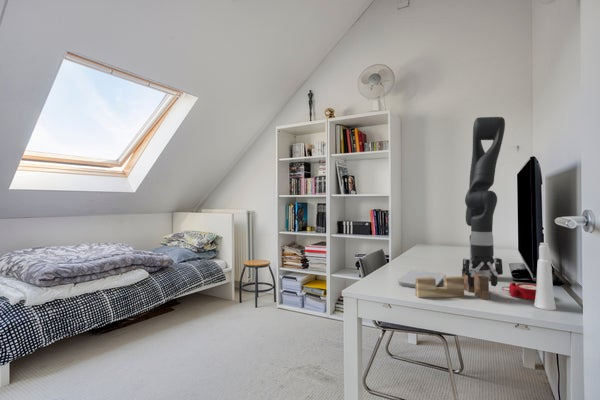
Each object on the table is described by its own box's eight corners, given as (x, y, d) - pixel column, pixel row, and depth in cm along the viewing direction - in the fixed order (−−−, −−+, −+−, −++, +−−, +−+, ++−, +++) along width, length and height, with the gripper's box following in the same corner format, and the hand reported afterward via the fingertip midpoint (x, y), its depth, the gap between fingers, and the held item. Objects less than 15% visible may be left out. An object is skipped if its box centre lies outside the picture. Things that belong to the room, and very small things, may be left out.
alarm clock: (553, 293, 114) (504, 279, 122) (549, 310, 115) (500, 294, 122) (550, 286, 123) (504, 273, 130) (545, 301, 123) (500, 287, 131)
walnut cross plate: (462, 288, 134) (461, 269, 134) (468, 288, 134) (467, 269, 134) (482, 299, 120) (482, 277, 120) (488, 298, 120) (488, 277, 120)
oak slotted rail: (415, 295, 126) (415, 277, 126) (460, 294, 126) (460, 276, 126) (418, 297, 123) (417, 279, 123) (464, 296, 124) (464, 278, 124)
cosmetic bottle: (540, 309, 108) (539, 244, 107) (530, 304, 113) (529, 241, 113) (560, 310, 107) (559, 244, 106) (549, 304, 113) (548, 241, 112)
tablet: (446, 278, 153) (446, 273, 153) (435, 292, 131) (435, 286, 131) (411, 274, 162) (411, 269, 162) (395, 286, 140) (395, 281, 140)
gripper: (469, 245, 118) (470, 289, 118) (506, 244, 119) (507, 288, 118) (458, 242, 125) (459, 284, 125) (493, 241, 126) (494, 283, 126)
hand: (482, 286), depth 122 cm, fingers open, 8 cm apart
